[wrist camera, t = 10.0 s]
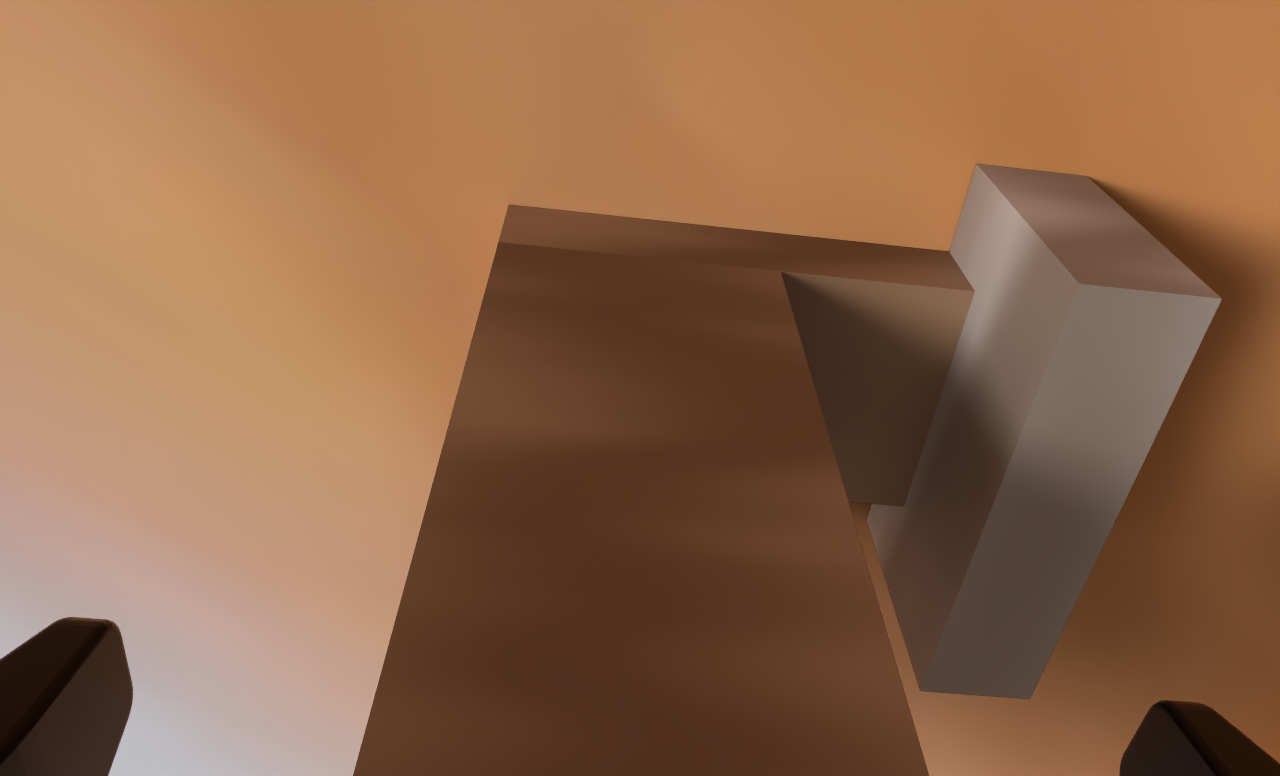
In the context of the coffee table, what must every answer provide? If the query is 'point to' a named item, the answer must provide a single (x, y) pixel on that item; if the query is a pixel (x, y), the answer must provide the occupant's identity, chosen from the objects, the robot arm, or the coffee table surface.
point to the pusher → (773, 484)
